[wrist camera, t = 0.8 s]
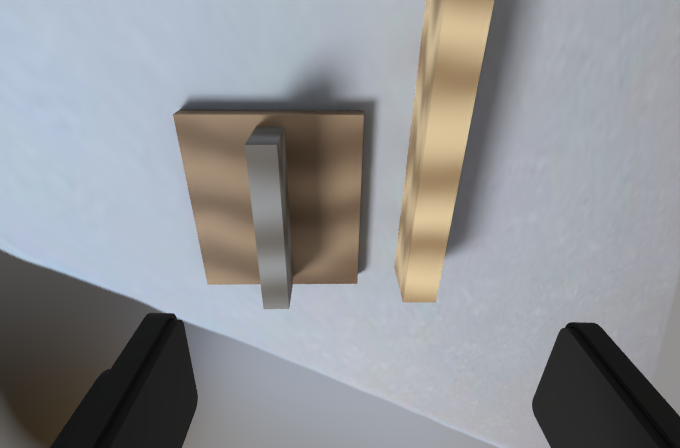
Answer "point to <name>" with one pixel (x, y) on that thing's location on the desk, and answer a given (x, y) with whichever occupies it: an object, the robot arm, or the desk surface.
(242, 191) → the stand
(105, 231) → the desk surface
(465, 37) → the oak batten
